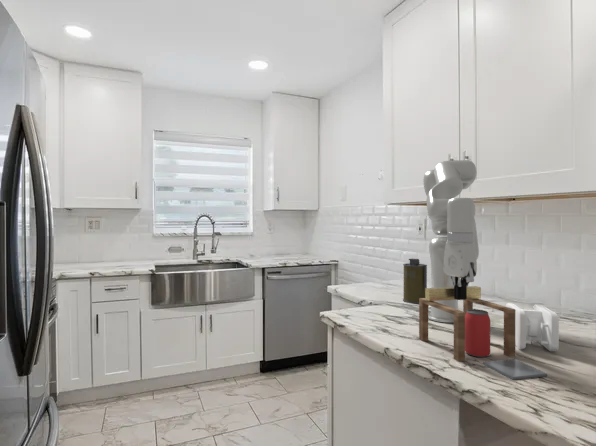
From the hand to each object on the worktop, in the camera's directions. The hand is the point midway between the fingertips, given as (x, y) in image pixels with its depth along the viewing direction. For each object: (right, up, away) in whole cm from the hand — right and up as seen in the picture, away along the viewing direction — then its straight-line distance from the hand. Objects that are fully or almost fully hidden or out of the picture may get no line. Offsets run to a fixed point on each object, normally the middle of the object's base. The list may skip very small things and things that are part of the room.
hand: (460, 299), depth 113 cm
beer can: (+2, -14, -7) cm, 16 cm away
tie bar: (-1, -1, +3) cm, 3 cm away
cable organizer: (+21, -14, 0) cm, 26 cm away
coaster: (+5, -14, -19) cm, 24 cm away
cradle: (0, -14, -2) cm, 14 cm away
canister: (+6, -14, +63) cm, 65 cm away
